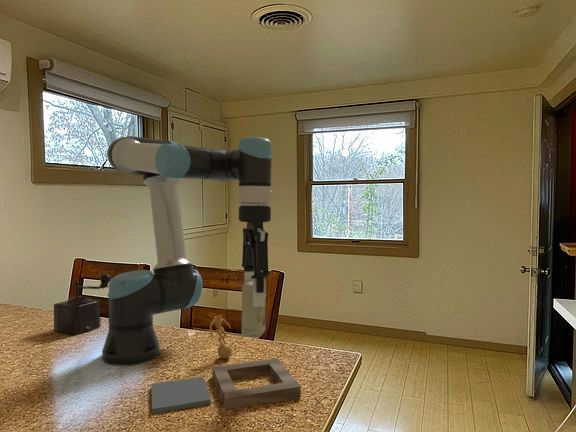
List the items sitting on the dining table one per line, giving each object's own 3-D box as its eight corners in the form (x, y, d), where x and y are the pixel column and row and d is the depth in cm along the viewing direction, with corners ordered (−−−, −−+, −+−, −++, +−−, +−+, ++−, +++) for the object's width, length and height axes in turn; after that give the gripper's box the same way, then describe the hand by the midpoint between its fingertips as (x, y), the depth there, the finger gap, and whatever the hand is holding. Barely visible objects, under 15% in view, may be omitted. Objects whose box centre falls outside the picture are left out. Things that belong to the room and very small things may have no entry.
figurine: (220, 364, 107) (220, 320, 106) (203, 360, 110) (203, 317, 109) (239, 354, 114) (239, 313, 114) (223, 350, 117) (223, 310, 117)
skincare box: (259, 339, 91) (259, 285, 90) (240, 337, 91) (241, 284, 91) (266, 329, 97) (266, 280, 96) (249, 328, 98) (249, 279, 97)
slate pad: (151, 388, 93) (151, 383, 93) (203, 380, 97) (203, 376, 97) (152, 413, 82) (152, 409, 82) (210, 404, 86) (210, 399, 86)
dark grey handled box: (75, 336, 128) (74, 281, 128) (52, 331, 133) (52, 278, 133) (114, 323, 142) (114, 273, 142) (93, 319, 147) (92, 271, 147)
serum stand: (212, 376, 100) (212, 366, 99) (276, 367, 105) (277, 358, 105) (225, 410, 84) (225, 398, 83) (300, 397, 89) (300, 386, 89)
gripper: (284, 205, 85) (283, 311, 86) (258, 204, 104) (258, 291, 105) (250, 205, 82) (249, 315, 83) (230, 204, 101) (229, 293, 102)
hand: (254, 301), depth 94 cm, fingers closed on skincare box, 7 cm apart
